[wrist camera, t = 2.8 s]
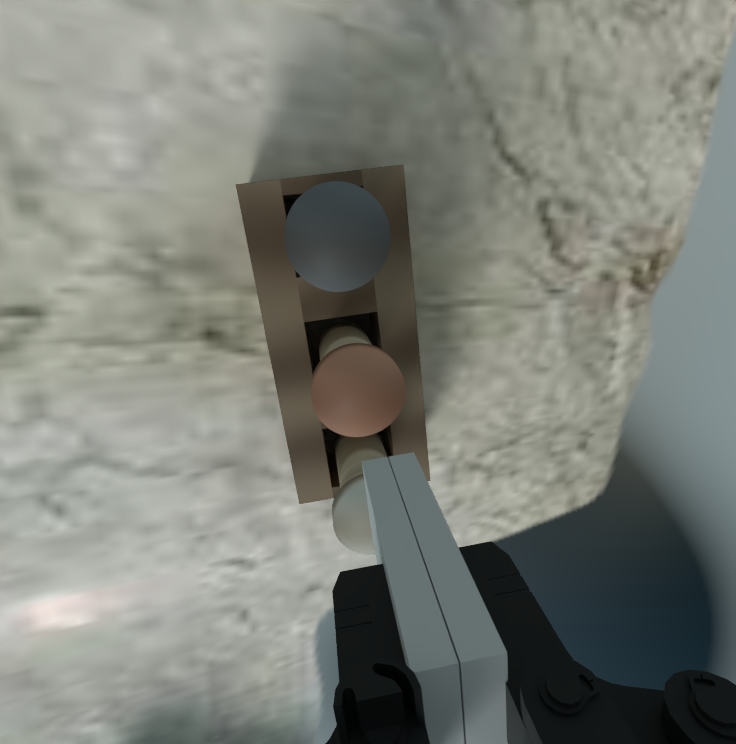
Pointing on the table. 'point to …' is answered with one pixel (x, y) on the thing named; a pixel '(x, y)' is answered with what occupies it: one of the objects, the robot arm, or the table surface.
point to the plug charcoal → (337, 236)
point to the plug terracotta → (355, 383)
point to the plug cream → (354, 491)
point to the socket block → (308, 303)
